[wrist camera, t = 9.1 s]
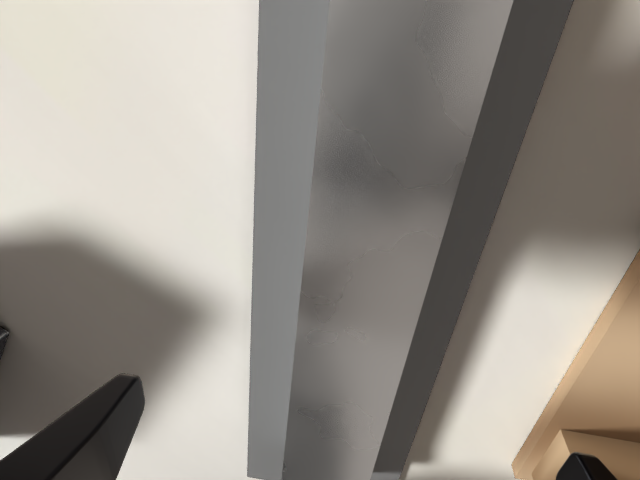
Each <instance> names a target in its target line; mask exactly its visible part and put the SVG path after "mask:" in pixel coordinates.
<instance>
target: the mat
mask: <svg viewBox="0 0 640 480" xmlns="http://www.w3.org/2000/svg"><path fill="white" fill-rule="evenodd" d="M573 1H574V0H513V4H512V7H511V10H510V14H509V17H508V21H507V24H506V27H505V31H504V34H503V37H502V41H501V44H500V47H499V51H498V54H497V57H496V61H495V64H494V67H493V71H492V74H491V77H490V81H489V84H488V87H487V91H486V94H485V97H484V101H483V104H482V107H481V111H480V114H479V117H478V121H477V124H476V128H475V131H474V134H473V138H472V141H471V144H470V148H469V151H468V154H467V158H466V161H465V164H464V168H463V171H462V174H461V178H460V181H459V184H458V188H457V191H456V194H455V198H454V201H453V204H452V208H451V211H450V214H449V218H448V221H447V225H446V228H445V231H444V235H443V238H442V241H441V245H440V248H439V251H438V255H437V258H436V261H435V265H434V268H433V271H432V275H431V278H430V281H429V285H428V288H427V291H426V295H425V298H424V301H423V305H422V308H421V311H420V315H419V318H418V322H417V325H416V328H415V332H414V335H413V338H412V342H411V345H410V348H409V352H408V355H407V358H406V362H405V365H404V368H403V372H402V375H401V378H400V382H399V385H398V388H397V392H396V395H395V398H394V402H393V405H392V408H391V412H390V415H389V419H388V422H387V425H386V429H385V432H384V435H383V439H382V442H381V445H380V449H379V452H378V455H377V459H376V462H375V465H374V469H373V472H372V475H371V479H370V480H399V478H400V475H401V473H402V470H403V467H404V464H405V462H406V459H407V456H408V453H409V451H410V448H411V445H412V442H413V440H414V437H415V434H416V431H417V429H418V426H419V423H420V420H421V418H422V415H423V412H424V410H425V407H426V404H427V401H428V399H429V396H430V393H431V390H432V388H433V385H434V382H435V379H436V377H437V374H438V371H439V368H440V366H441V363H442V360H443V357H444V355H445V352H446V349H447V346H448V344H449V341H450V338H451V335H452V333H453V330H454V327H455V325H456V322H457V319H458V316H459V314H460V311H461V308H462V305H463V303H464V300H465V297H466V294H467V292H468V289H469V286H470V283H471V281H472V278H473V275H474V272H475V270H476V267H477V264H478V261H479V259H480V256H481V253H482V250H483V248H484V245H485V242H486V239H487V237H488V234H489V231H490V229H491V226H492V223H493V220H494V218H495V215H496V212H497V209H498V207H499V204H500V201H501V198H502V196H503V193H504V190H505V187H506V185H507V182H508V179H509V176H510V174H511V171H512V168H513V165H514V163H515V160H516V157H517V154H518V152H519V149H520V146H521V144H522V141H523V138H524V135H525V133H526V130H527V127H528V124H529V122H530V119H531V116H532V113H533V111H534V108H535V105H536V102H537V100H538V97H539V94H540V91H541V89H542V86H543V83H544V80H545V78H546V75H547V72H548V69H549V67H550V64H551V61H552V59H553V56H554V53H555V50H556V48H557V45H558V42H559V39H560V37H561V34H562V31H563V28H564V26H565V23H566V20H567V17H568V15H569V12H570V9H571V6H572V4H573ZM329 4H330V0H259V31H258V71H257V110H256V150H255V190H254V229H253V269H252V309H251V348H250V388H249V428H248V467H247V477H252V478H258V479H263V480H282V470H283V461H284V451H285V441H286V431H287V421H288V411H289V401H290V391H291V381H292V371H293V361H294V351H295V341H296V331H297V322H298V312H299V302H300V292H301V282H302V272H303V262H304V252H305V242H306V232H307V222H308V212H309V202H310V192H311V183H312V173H313V163H314V153H315V143H316V133H317V123H318V113H319V103H320V93H321V83H322V73H323V63H324V53H325V43H326V34H327V24H328V14H329Z"/></svg>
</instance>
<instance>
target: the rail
mask: <svg viewBox="0 0 640 480" xmlns="http://www.w3.org/2000/svg"><path fill="white" fill-rule="evenodd" d="M512 4H513V0H330V4H329V14H328V24H327V34H326V43H325V53H324V63H323V73H322V83H321V93H320V103H319V113H318V123H317V133H316V143H315V153H314V163H313V173H312V183H311V192H310V202H309V212H308V222H307V232H306V242H305V252H304V262H303V272H302V282H301V292H300V302H299V312H298V322H297V331H296V341H295V351H294V361H293V371H292V381H291V391H290V401H289V411H288V421H287V431H286V441H285V451H284V461H283V470H282V480H370V479H371V475H372V472H373V469H374V465H375V462H376V459H377V455H378V452H379V449H380V445H381V442H382V439H383V435H384V432H385V429H386V425H387V422H388V419H389V415H390V412H391V408H392V405H393V402H394V398H395V395H396V392H397V388H398V385H399V382H400V378H401V375H402V372H403V368H404V365H405V362H406V358H407V355H408V352H409V348H410V345H411V342H412V338H413V335H414V332H415V328H416V325H417V322H418V318H419V315H420V311H421V308H422V305H423V301H424V298H425V295H426V291H427V288H428V285H429V281H430V278H431V275H432V271H433V268H434V265H435V261H436V258H437V255H438V251H439V248H440V245H441V241H442V238H443V235H444V231H445V228H446V225H447V221H448V218H449V214H450V211H451V208H452V204H453V201H454V198H455V194H456V191H457V188H458V184H459V181H460V178H461V174H462V171H463V168H464V164H465V161H466V158H467V154H468V151H469V148H470V144H471V141H472V138H473V134H474V131H475V128H476V124H477V121H478V117H479V114H480V111H481V107H482V104H483V101H484V97H485V94H486V91H487V87H488V84H489V81H490V77H491V74H492V71H493V67H494V64H495V61H496V57H497V54H498V51H499V47H500V44H501V41H502V37H503V34H504V31H505V27H506V24H507V21H508V17H509V14H510V10H511V7H512Z"/></svg>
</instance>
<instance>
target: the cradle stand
mask: <svg viewBox="0 0 640 480" xmlns="http://www.w3.org/2000/svg"><path fill="white" fill-rule="evenodd" d="M573 452H580V453H585V454H591V455H594V456H596V457H597V458H598V459H599V460H600V461H601V462H602V463H603V464H604V465H605V466H606V467H607V468H608V469H609V470H610V472H611V473H612V474H613V475H614V476H615V477H616V478H617V479H618V480H640V250H639V251H638V253H637V255H636V257H635V258H634V260H633V262H632V263H631V265H630V267H629V268H628V270H627V272H626V273H625V275H624V277H623V278H622V280H621V282H620V283H619V285H618V287H617V288H616V290H615V292H614V293H613V295H612V297H611V298H610V300H609V302H608V303H607V305H606V307H605V308H604V310H603V312H602V314H601V315H600V317H599V319H598V320H597V322H596V324H595V325H594V327H593V329H592V330H591V332H590V334H589V335H588V337H587V339H586V340H585V342H584V344H583V345H582V347H581V349H580V350H579V352H578V354H577V355H576V357H575V359H574V360H573V362H572V364H571V366H570V367H569V369H568V371H567V372H566V374H565V376H564V377H563V379H562V381H561V382H560V384H559V386H558V387H557V389H556V391H555V392H554V394H553V396H552V397H551V399H550V401H549V402H548V404H547V406H546V407H545V409H544V411H543V412H542V414H541V416H540V417H539V419H538V421H537V423H536V424H535V426H534V428H533V429H532V431H531V433H530V434H529V436H528V438H527V439H526V441H525V443H524V444H523V446H522V448H521V449H520V451H519V453H518V454H517V456H516V458H515V459H514V461H513V463H512V464H511V465H512V468H513V472H514V476H515V478H517V479H523V480H556V475H557V473H558V471H559V469H560V468H561V467H562V465H563V464H564V462H565V461H566V460H567V458H568V457H569V455H570V454H571V453H573Z"/></svg>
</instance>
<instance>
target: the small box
mask: <svg viewBox="0 0 640 480" xmlns="http://www.w3.org/2000/svg"><path fill="white" fill-rule="evenodd" d="M8 335H9V333H8V332H7V331H6V330H4V329H3V328H1V327H0V359H1V356H2V353H3V350H4V346H5V343H6V340H7V337H8Z"/></svg>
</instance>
